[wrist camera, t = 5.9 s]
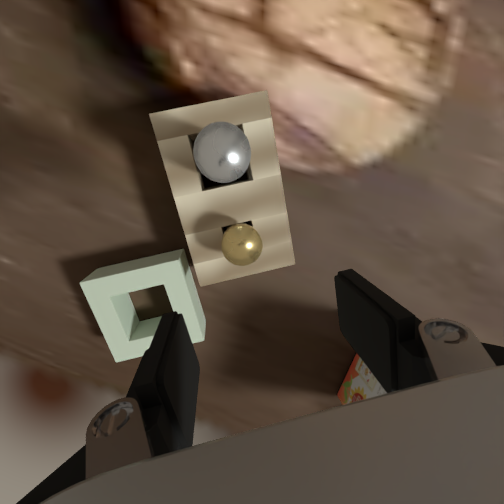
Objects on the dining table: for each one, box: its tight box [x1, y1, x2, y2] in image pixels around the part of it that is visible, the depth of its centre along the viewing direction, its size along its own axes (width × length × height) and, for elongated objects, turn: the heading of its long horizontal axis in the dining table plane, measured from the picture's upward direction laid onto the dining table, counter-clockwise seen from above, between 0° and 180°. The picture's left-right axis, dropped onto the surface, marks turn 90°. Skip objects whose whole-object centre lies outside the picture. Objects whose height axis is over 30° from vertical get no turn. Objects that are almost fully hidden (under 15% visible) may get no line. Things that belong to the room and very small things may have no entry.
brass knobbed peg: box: [221, 222, 263, 266], centre depth 26 cm, size 4×4×8 cm
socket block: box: [149, 90, 295, 287], centre depth 26 cm, size 16×10×5 cm, turn 12°
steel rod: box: [193, 122, 251, 183], centre depth 22 cm, size 4×4×12 cm
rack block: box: [80, 249, 206, 362], centre depth 29 cm, size 10×10×4 cm
